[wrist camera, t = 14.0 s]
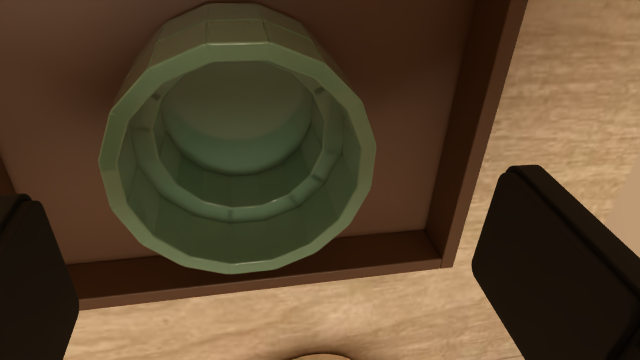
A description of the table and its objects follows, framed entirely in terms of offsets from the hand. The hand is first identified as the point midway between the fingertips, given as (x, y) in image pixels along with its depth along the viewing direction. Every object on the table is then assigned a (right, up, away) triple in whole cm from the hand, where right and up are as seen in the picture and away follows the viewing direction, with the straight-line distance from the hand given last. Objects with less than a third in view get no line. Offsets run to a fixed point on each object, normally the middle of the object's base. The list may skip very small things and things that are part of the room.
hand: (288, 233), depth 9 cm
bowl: (-2, +4, +6) cm, 7 cm away
